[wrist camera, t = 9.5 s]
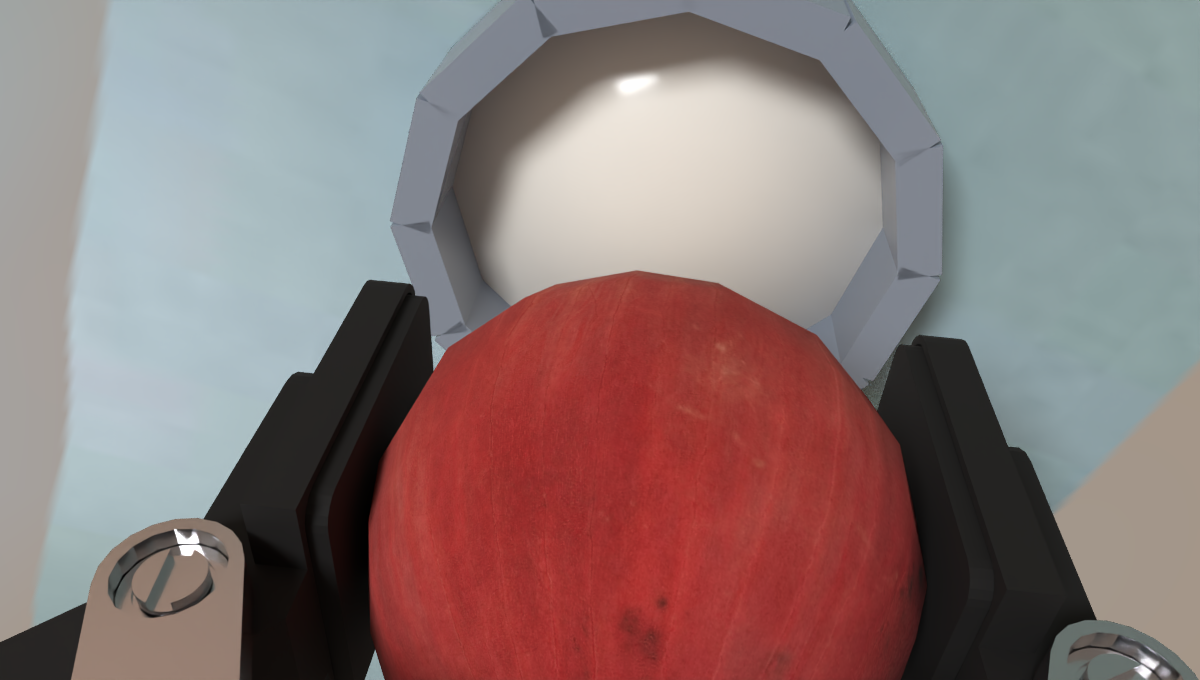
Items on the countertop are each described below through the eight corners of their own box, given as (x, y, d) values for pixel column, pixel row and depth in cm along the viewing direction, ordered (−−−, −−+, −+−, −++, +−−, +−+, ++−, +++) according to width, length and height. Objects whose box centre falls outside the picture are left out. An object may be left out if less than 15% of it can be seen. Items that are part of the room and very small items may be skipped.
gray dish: (638, 443, 21) (632, 514, 19) (334, 160, 17) (291, 214, 16) (1009, 224, 17) (1046, 287, 15) (709, -200, 13) (710, -184, 12)
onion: (958, 297, 12) (1256, 1011, 6) (712, 539, 15) (718, 1176, 9) (576, 67, 11) (379, 657, 4) (393, 386, 14) (119, 1002, 7)
